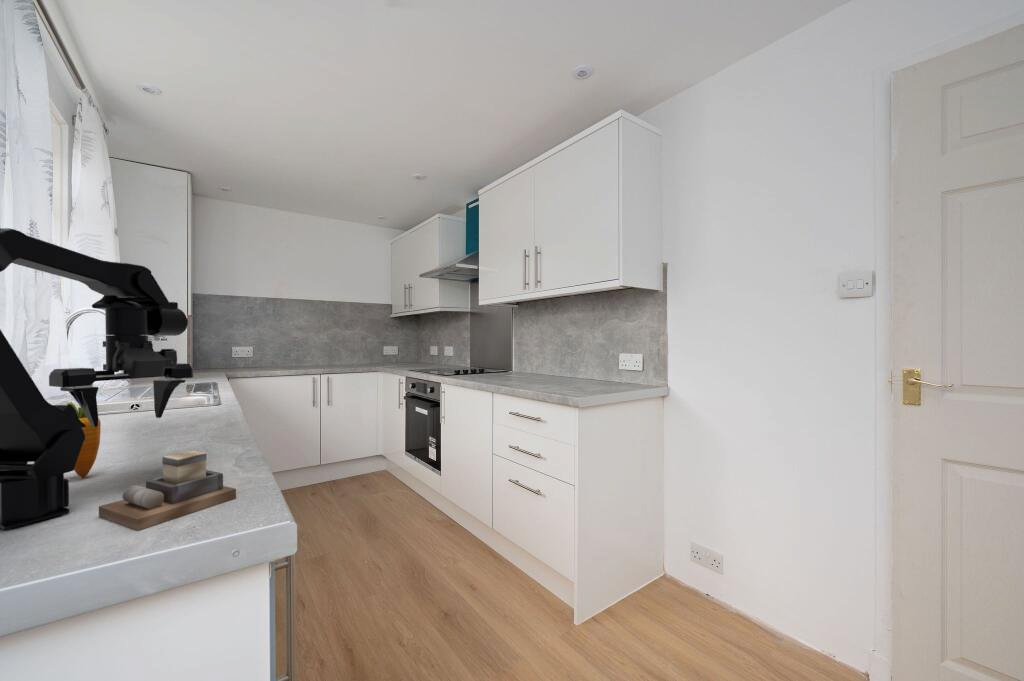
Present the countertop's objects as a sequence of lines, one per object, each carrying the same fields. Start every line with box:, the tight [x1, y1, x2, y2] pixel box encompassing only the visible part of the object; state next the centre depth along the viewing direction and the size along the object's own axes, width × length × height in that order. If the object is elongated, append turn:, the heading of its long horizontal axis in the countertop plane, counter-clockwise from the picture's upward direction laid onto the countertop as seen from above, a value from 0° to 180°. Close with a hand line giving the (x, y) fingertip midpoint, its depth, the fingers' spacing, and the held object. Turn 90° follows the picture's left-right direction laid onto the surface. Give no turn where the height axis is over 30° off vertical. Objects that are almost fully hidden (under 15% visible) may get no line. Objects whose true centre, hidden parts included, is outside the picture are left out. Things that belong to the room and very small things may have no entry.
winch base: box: [98, 469, 237, 531], centre depth 66 cm, size 13×11×4 cm
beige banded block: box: [162, 450, 207, 485], centre depth 68 cm, size 4×4×6 cm
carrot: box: [66, 401, 102, 478], centre depth 81 cm, size 5×5×15 cm
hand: (128, 422), depth 77 cm, fingers open, 9 cm apart
